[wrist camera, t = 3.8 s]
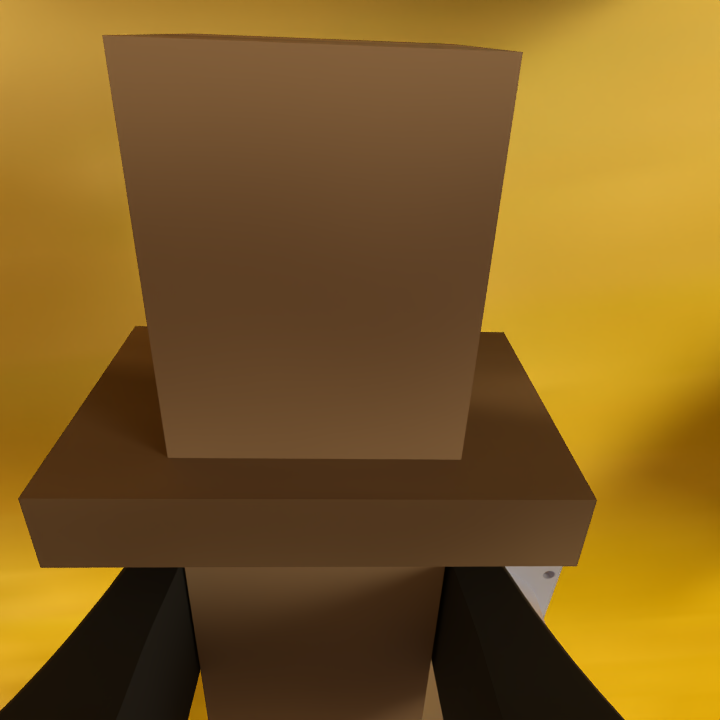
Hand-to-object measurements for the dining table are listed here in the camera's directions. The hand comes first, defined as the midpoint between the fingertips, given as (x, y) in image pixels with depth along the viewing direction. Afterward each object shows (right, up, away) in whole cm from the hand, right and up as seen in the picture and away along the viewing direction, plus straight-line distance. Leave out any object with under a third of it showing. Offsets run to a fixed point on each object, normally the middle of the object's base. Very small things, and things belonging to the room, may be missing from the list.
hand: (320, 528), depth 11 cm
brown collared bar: (0, +3, 0) cm, 3 cm away
